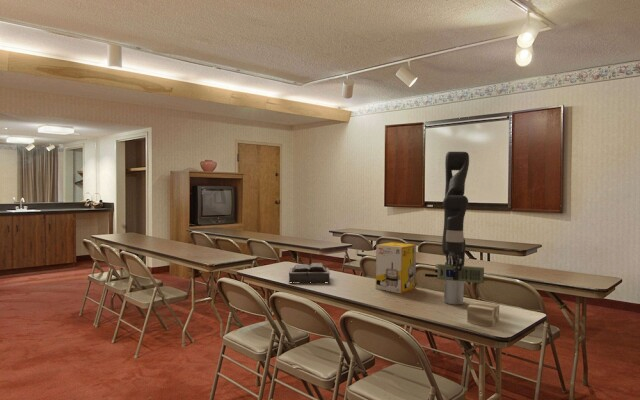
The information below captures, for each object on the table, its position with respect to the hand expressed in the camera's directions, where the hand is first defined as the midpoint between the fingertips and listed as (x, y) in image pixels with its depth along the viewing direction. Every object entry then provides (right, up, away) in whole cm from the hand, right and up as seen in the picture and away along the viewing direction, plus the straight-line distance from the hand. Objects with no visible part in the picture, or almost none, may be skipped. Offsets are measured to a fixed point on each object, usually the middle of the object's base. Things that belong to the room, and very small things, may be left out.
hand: (453, 279), depth 199 cm
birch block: (+11, -18, -4) cm, 21 cm away
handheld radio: (0, -1, +1) cm, 1 cm away
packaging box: (-16, -15, +56) cm, 60 cm away
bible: (-66, -14, +75) cm, 101 cm away
